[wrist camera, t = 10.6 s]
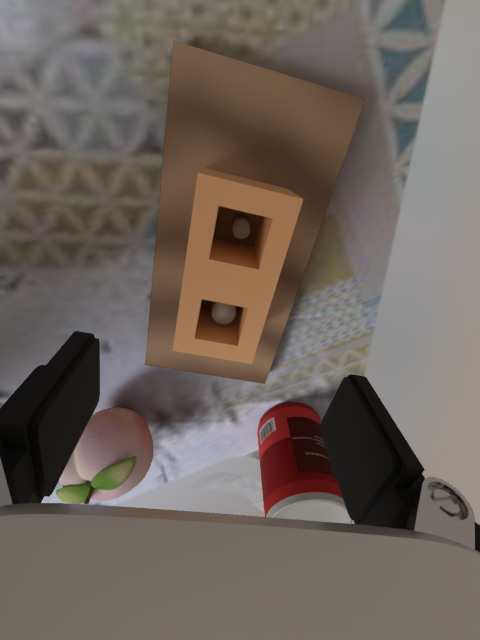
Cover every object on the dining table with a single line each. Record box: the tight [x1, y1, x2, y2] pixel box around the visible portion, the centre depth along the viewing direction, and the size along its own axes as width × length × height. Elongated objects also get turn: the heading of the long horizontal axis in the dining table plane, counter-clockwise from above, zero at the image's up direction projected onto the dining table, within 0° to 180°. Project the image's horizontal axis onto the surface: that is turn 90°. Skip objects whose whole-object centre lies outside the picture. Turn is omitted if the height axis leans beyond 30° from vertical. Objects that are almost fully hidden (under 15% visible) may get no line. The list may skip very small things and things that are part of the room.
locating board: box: [145, 40, 365, 384], centre depth 23 cm, size 24×12×5 cm, turn 167°
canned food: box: [258, 403, 352, 524], centre depth 31 cm, size 8×8×11 cm
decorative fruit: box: [56, 407, 153, 504], centre depth 29 cm, size 9×8×10 cm
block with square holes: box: [173, 168, 303, 364], centre depth 21 cm, size 12×6×5 cm, turn 167°
